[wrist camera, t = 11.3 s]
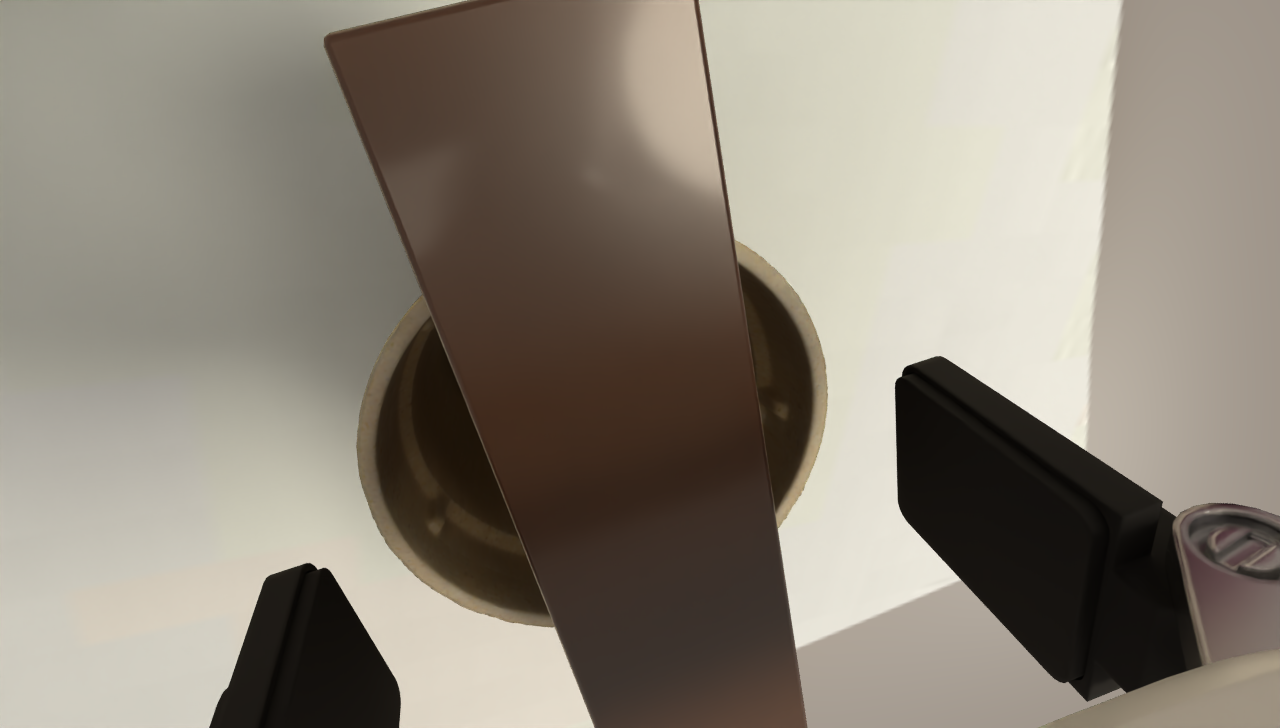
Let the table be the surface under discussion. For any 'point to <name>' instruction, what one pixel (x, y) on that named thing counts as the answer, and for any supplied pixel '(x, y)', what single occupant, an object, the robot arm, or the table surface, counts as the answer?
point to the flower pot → (465, 483)
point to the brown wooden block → (594, 332)
